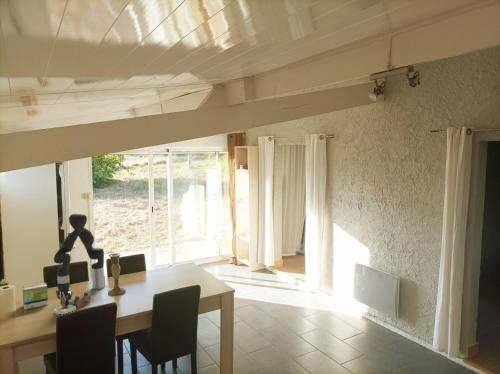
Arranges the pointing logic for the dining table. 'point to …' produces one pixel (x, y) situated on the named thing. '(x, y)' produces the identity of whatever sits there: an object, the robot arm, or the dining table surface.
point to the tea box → (35, 295)
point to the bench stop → (82, 300)
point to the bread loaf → (63, 303)
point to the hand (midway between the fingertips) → (64, 305)
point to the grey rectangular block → (72, 302)
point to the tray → (62, 311)
